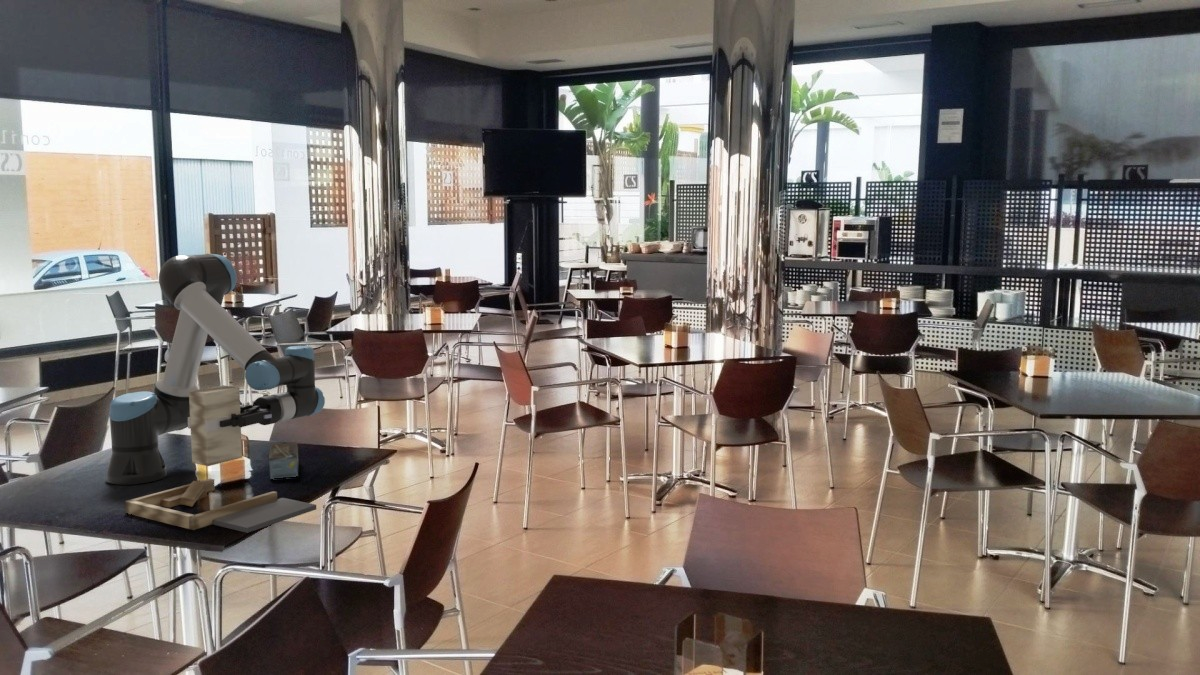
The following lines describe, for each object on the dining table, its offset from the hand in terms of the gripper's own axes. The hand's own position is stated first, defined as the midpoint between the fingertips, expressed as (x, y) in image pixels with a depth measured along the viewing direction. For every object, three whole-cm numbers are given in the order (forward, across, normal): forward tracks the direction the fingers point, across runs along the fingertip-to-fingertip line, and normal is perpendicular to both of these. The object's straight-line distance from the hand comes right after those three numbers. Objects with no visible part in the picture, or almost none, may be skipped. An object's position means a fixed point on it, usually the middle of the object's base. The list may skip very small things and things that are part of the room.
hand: (197, 424), depth 231 cm
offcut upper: (-4, +9, -21) cm, 23 cm away
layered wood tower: (-5, 0, -10) cm, 11 cm away
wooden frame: (-2, +2, -22) cm, 22 cm away
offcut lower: (-4, +12, -22) cm, 26 cm away
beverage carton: (-38, +13, -22) cm, 46 cm away
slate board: (-5, -17, -22) cm, 28 cm away
